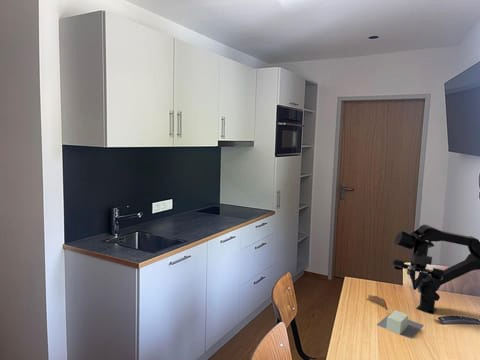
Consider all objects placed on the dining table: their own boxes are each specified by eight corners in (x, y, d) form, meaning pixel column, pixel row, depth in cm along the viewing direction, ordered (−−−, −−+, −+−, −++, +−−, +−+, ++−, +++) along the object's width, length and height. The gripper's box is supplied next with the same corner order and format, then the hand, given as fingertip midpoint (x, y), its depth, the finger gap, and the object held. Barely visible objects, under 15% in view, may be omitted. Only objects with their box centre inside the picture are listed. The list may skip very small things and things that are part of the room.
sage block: (395, 310, 138) (387, 316, 132) (408, 314, 134) (400, 322, 129) (394, 322, 138) (386, 329, 133) (407, 327, 135) (399, 334, 129)
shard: (386, 311, 149) (386, 307, 149) (367, 308, 151) (367, 304, 150) (382, 300, 159) (382, 296, 159) (365, 298, 161) (365, 294, 161)
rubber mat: (390, 313, 146) (390, 312, 146) (423, 325, 137) (423, 325, 137) (376, 325, 136) (376, 324, 136) (411, 339, 127) (411, 338, 127)
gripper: (396, 241, 144) (389, 278, 138) (448, 252, 136) (443, 291, 130) (395, 250, 153) (389, 285, 147) (444, 261, 145) (439, 298, 139)
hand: (414, 289), depth 140 cm, fingers closed
